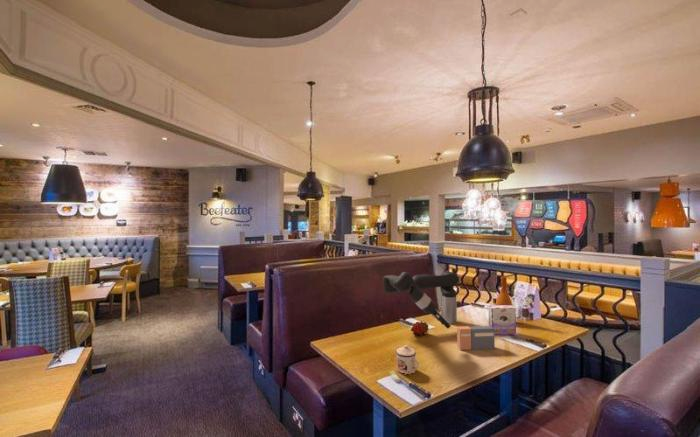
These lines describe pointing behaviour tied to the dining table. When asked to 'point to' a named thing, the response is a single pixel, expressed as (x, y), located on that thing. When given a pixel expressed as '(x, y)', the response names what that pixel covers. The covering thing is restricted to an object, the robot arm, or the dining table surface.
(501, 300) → the brown tapered piece
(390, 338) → the dining table surface
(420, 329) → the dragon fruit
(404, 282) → the robot arm
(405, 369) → the teacup with lid
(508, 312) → the candy box
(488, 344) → the gray block
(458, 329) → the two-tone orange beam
